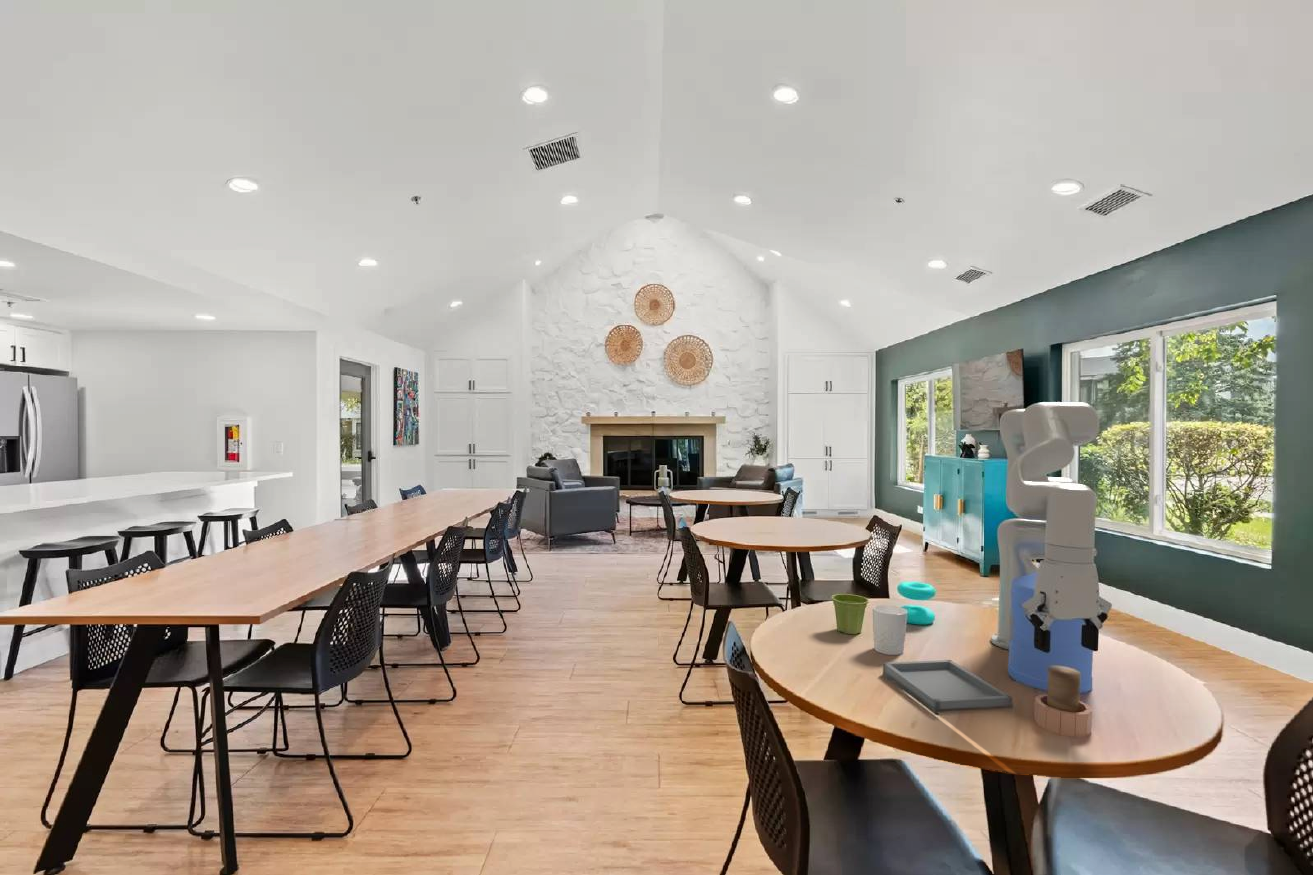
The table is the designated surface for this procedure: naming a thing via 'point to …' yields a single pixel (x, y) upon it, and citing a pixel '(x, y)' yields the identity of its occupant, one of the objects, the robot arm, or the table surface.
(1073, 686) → the walnut cylinder
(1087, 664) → the water jug
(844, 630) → the plant pot
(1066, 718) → the terracotta cup
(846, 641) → the table surface
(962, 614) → the table surface
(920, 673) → the slate tray
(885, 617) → the white cup
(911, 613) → the donuts
